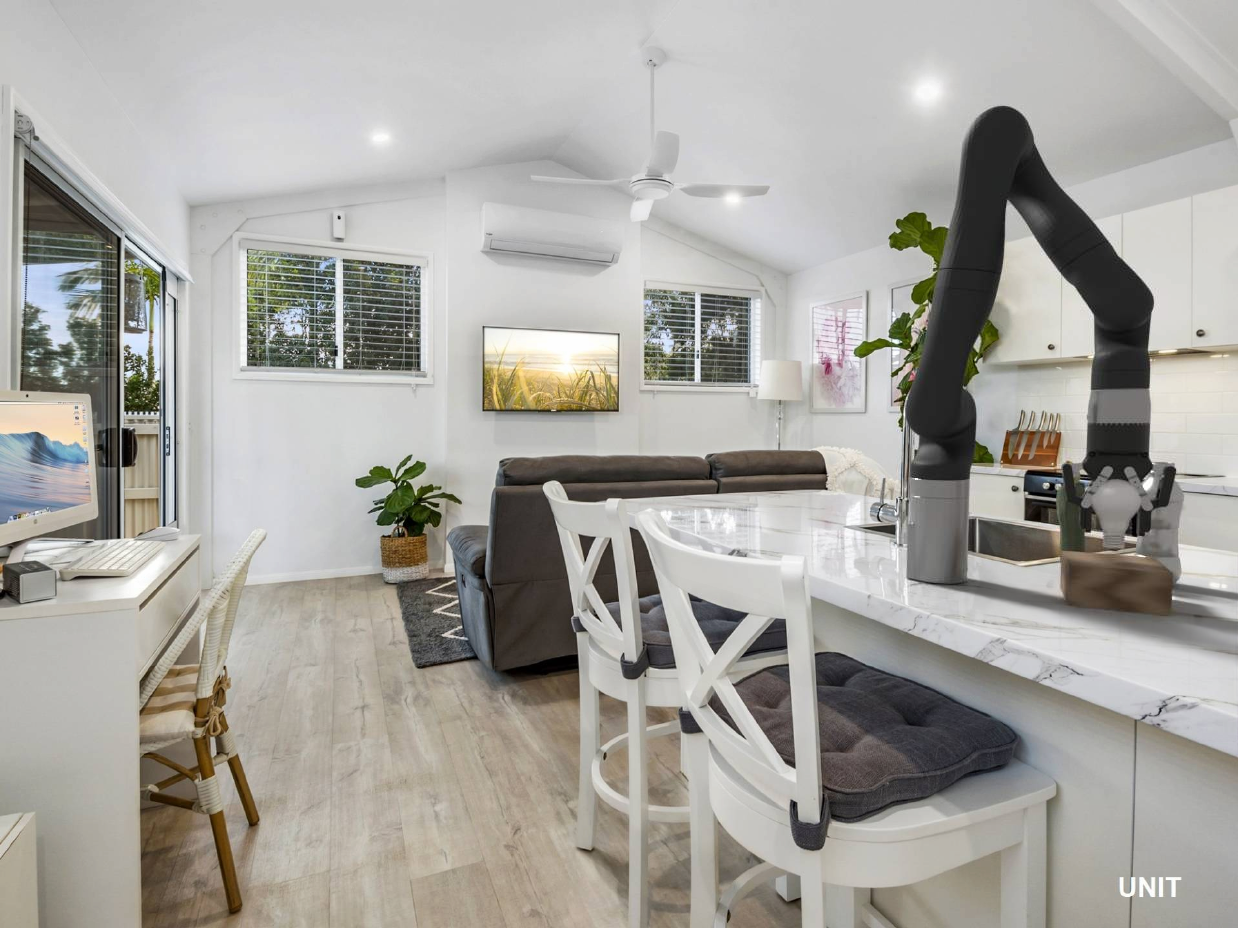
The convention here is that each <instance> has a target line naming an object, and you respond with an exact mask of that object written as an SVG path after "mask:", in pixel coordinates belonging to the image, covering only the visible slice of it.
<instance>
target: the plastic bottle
mask: <svg viewBox="0 0 1238 928" xmlns="http://www.w3.org/2000/svg"><path fill="white" fill-rule="evenodd" d="M1151 462H1152V463H1153V464H1155V465H1162V466H1166V465H1170V466H1173V467H1175V468H1176V463H1175V462H1170V461H1169V462H1166V461H1165V462H1164V461H1151ZM1141 484H1142V486H1143V487H1144V489H1145V491H1146V493H1147V496H1148V498H1149V500H1151V499H1155V497H1156V493H1157V489H1158V484H1159V479H1157V478H1156V477H1155V473H1154V471H1151V472H1150V473H1149V474H1148V475H1147V476H1146V477H1145V478H1144V479H1143V480H1142V481H1141ZM1184 501H1185V494H1184V491H1183V489H1182V488H1181V485H1180V484H1179V483H1178V482H1177V481H1176V480H1175V479H1174V483H1173V488H1172V492H1171V496H1170V500H1169V504H1168V506H1167V507H1160V508H1156V509H1154V510H1153V511H1152V513H1151V530H1150V531H1149V533H1147V532H1145V536H1138V535H1137V537H1136V545H1135V552H1134V555H1133V556H1142V557H1155V558H1156V559H1157V560H1158V561H1159V562H1161V563H1162V564H1163V565H1164V566H1165V567H1166V568H1168V569H1169V570H1170V571H1171V572H1172V573H1173V585H1175V584H1176V583H1178V581H1179V580H1180V579H1181V576H1182V564H1181V558H1180V552H1179V549H1180V548H1179V528H1180V519H1181V516H1182V515H1181V514H1182V511H1183V507H1184V506H1183V505H1184Z"/></svg>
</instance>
